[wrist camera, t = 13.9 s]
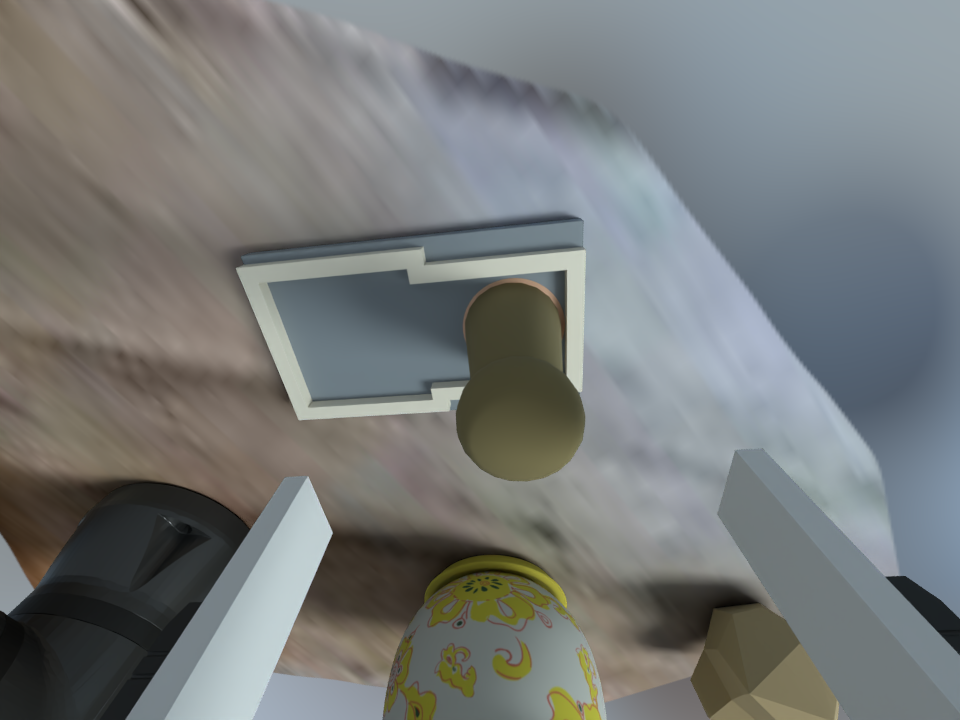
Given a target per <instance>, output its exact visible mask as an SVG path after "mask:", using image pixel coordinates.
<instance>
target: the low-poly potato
mask: <svg viewBox="0 0 960 720" xmlns="http://www.w3.org/2000/svg"><path fill="white" fill-rule="evenodd" d="M691 682H692V684H693V687H694V689H695V691H696V693H697V695H698V697H699V699H700V701H701V703H702V705H703V707H704V710H705V712H706V714H707V716H708V717H709V718H710V719H711V720H838V710H839V702H838V700H837V699H836V697H835V696H834V694H833V693H832V691H831V690H830V688H829V686H828V685H827V683H826V682H825V680H824V679H823V677H822V676H821V674H820V673H819V671H818V669H817V668H816V666H815V665H814V663H813V662H812V660H811V659H810V657H809V656H808V654H807V652H806V651H805V649H804V648H803V646H802V645H801V643H800V642H799V640H798V638H797V637H796V635H795V634H794V632H793V631H792V629H791V628H790V626H789V625H788V623H787V621H786V620H785V619H783V618H781V617H780V616H778V615H777V614H775V613H773V612H772V611H771V610H769V609H768V608H766V607H765V606H763V605H762V604H760V603H755V604H747V605H739V606H730V607H722V608H714V609H713V613H712V617H711V621H710V626H709V630H708V634H707V638H706V642H705V646H704V650H703V652H702V654H701V657H700V659H699V661H698V664H697V666H696V668H695V670H694V673H693V675H692V677H691Z"/></svg>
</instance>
